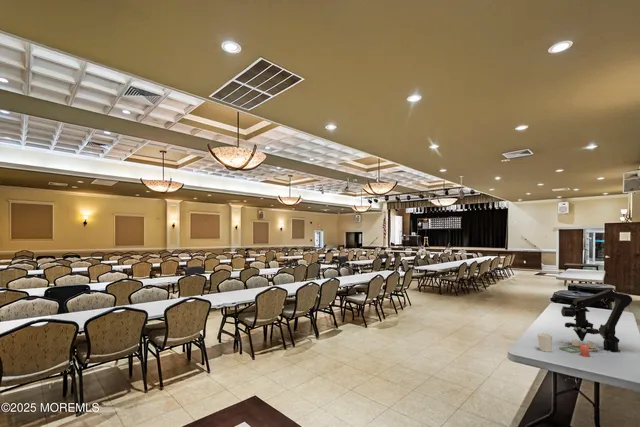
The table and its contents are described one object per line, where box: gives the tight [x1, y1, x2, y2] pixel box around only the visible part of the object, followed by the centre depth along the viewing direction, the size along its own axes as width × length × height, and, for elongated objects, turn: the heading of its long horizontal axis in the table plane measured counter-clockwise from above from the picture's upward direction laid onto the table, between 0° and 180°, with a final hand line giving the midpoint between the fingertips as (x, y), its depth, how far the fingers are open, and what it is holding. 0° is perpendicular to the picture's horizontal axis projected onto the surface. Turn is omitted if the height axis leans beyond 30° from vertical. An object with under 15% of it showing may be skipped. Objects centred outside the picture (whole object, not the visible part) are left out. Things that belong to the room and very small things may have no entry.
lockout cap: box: [579, 343, 591, 358], centre depth 200 cm, size 5×5×6 cm
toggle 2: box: [585, 341, 596, 349], centre depth 210 cm, size 3×3×4 cm
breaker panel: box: [569, 344, 599, 353], centre depth 211 cm, size 11×10×1 cm
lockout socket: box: [558, 345, 580, 354], centre depth 209 cm, size 8×11×1 cm
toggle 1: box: [571, 339, 581, 346], centre depth 214 cm, size 3×3×4 cm
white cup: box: [537, 332, 553, 353], centre depth 210 cm, size 8×8×10 cm
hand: (582, 341), depth 214 cm, fingers closed
